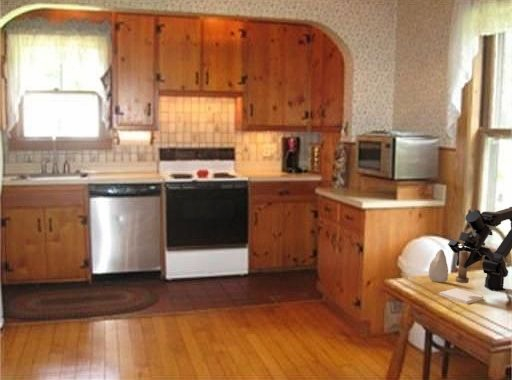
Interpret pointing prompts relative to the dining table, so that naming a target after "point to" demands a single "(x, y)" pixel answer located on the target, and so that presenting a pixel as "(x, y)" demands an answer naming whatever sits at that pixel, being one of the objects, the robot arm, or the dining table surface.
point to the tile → (461, 295)
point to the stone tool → (438, 268)
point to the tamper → (462, 268)
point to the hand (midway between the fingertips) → (460, 266)
